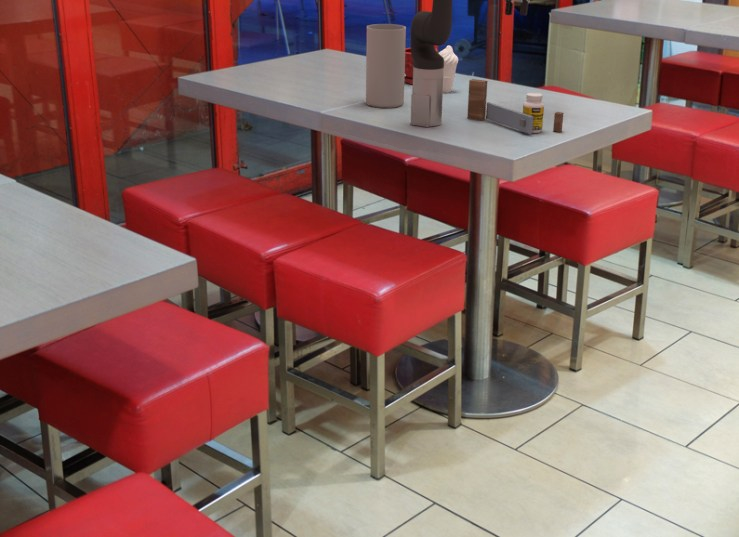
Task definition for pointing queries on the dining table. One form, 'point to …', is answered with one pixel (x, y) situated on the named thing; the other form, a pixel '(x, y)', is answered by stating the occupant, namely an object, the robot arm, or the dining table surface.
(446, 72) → the soft serve ice cream cone
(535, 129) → the pill bottle
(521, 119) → the gate
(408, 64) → the plant pot
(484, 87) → the wooden blocks
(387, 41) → the cylinder vase
